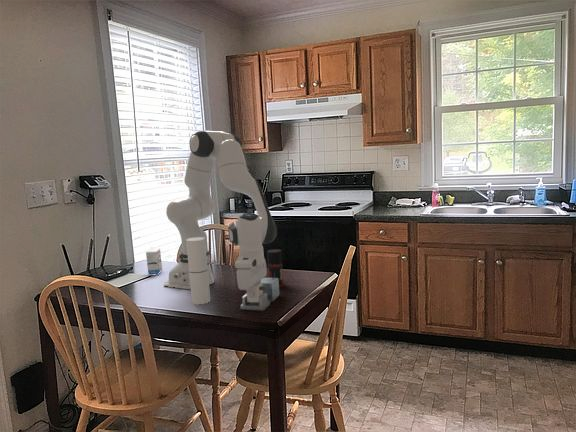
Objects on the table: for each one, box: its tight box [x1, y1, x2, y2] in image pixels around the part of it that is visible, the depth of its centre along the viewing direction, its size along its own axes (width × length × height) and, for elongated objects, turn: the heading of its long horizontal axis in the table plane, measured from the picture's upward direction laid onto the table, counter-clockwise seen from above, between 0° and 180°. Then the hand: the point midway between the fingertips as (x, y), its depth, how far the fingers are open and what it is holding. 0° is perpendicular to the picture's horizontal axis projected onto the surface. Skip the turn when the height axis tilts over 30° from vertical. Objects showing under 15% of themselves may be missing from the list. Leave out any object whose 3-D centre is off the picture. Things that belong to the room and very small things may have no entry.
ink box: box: [145, 248, 163, 275], centre depth 235 cm, size 9×5×12 cm, turn 179°
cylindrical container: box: [186, 237, 211, 306], centre depth 183 cm, size 7×7×25 cm
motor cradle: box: [240, 277, 280, 311], centre depth 181 cm, size 20×9×7 cm, turn 162°
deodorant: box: [266, 248, 284, 288], centre depth 200 cm, size 6×6×15 cm
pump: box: [246, 283, 266, 302], centre depth 174 cm, size 4×6×6 cm
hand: (254, 294), depth 174 cm, fingers closed on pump, 4 cm apart
